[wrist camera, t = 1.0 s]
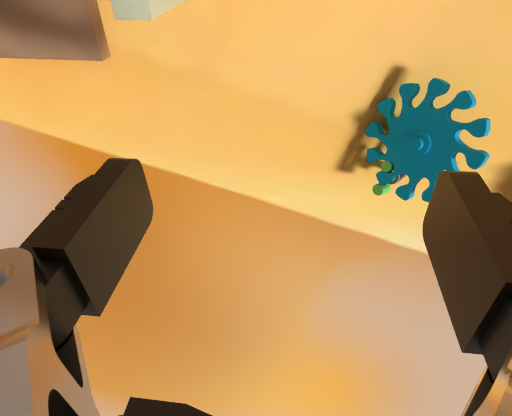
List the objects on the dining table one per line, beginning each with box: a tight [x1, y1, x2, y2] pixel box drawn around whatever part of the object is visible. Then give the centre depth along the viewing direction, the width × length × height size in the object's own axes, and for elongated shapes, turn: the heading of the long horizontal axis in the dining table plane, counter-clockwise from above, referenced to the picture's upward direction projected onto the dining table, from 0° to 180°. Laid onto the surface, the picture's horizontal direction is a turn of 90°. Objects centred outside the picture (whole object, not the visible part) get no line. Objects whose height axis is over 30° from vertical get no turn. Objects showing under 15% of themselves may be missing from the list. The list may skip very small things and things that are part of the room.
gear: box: [365, 78, 490, 202], centre depth 31 cm, size 11×6×10 cm
